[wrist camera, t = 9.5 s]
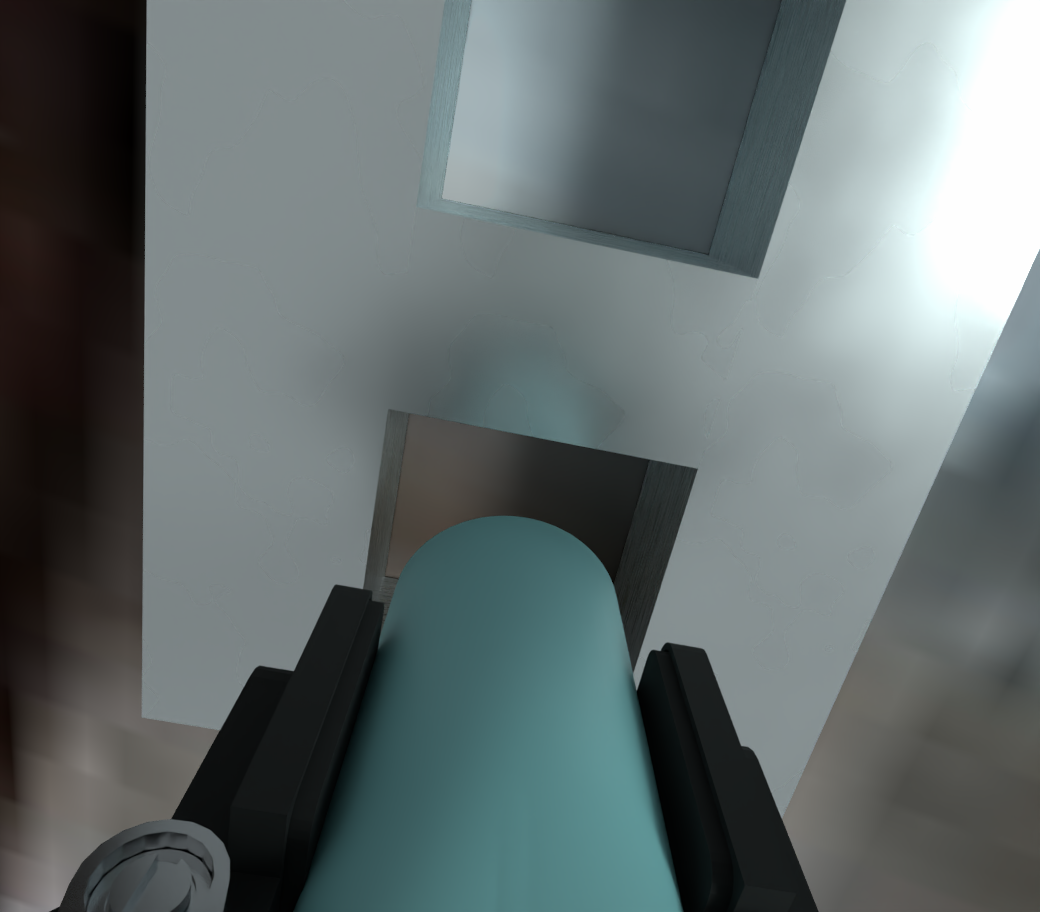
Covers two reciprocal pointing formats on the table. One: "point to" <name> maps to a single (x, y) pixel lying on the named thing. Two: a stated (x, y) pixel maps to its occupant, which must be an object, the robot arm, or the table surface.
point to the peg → (497, 742)
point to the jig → (568, 332)
